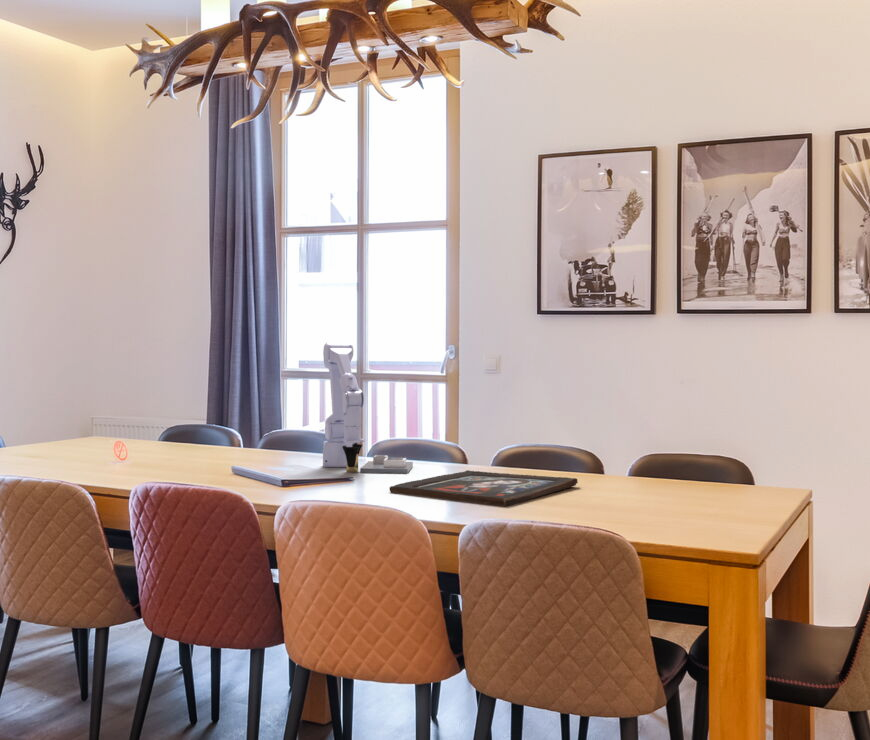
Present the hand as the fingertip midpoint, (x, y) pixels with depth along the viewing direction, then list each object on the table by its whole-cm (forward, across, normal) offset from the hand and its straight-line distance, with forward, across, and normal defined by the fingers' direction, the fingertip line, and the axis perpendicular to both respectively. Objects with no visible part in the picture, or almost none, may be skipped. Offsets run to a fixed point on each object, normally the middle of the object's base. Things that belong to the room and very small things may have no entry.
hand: (352, 466), depth 296 cm
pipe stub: (+2, 0, 0) cm, 2 cm away
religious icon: (+3, -34, -46) cm, 57 cm away
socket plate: (+2, +8, -11) cm, 14 cm away
